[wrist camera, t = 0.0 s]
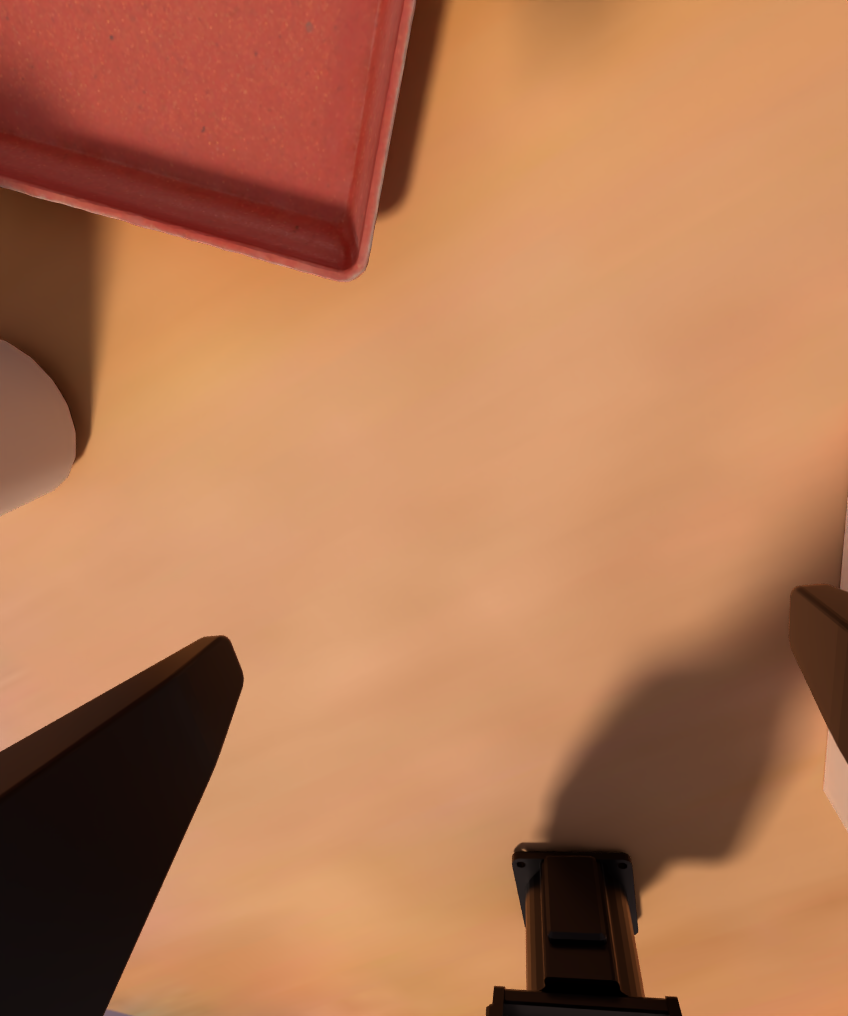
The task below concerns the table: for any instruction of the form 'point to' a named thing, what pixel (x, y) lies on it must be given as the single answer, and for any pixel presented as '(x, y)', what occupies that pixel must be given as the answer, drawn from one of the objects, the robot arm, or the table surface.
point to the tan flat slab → (31, 431)
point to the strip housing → (841, 780)
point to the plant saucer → (209, 118)
